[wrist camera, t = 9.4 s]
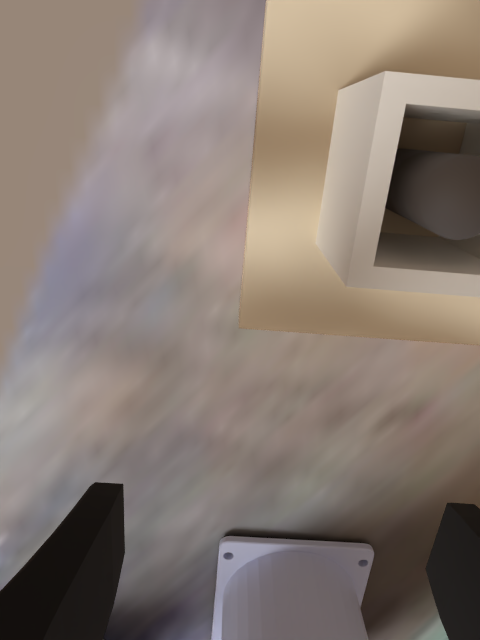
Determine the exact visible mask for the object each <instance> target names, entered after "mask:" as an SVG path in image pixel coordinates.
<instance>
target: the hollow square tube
mask: <svg viewBox="0 0 480 640" xmlns="http://www.w3.org/2000/svg"><path fill="white" fill-rule="evenodd" d="M403 117H407V118H418V119H428V120H439V121H450V122H461V123H467V125H466V129H465V133H464V137H463V141H462V145H461V149H460V153H459V154H464V155H474V156H480V80H474V79H464V78H453V77H443V76H433V75H422V74H412V73H402V72H392V71H384V72H382V73H379V74H377V75H374V76H372V77H369V78H367V79H365V80H362V81H360V82H357V83H355V84H353V85H350V86H348V87H345V88H343V89H340V90H338V96H337V103H336V110H335V116H334V123H333V130H332V136H331V143H330V150H329V157H328V163H327V170H326V177H325V183H324V190H323V197H322V203H321V210H320V217H319V224H318V230H317V237H316V245H317V246H318V248H319V249H320V251H321V252H322V253H323V255H324V256H325V258H326V259H327V260H328V262H329V263H330V265H331V266H332V268H333V269H334V270H335V272H336V273H337V275H338V276H339V277H340V279H341V280H342V282H343V283H344V284H345V286H346V287H355V288H367V289H380V290H393V291H406V292H418V293H431V294H444V295H457V296H469V297H480V234H478V235H476V236H474V237H471V238H467V239H462V240H451V239H447V238H444V237H441V236H438V237H431V236H419V235H407V234H395V233H383V232H380V231H381V226H382V221H383V216H384V211H385V206H386V201H387V196H388V191H389V186H390V181H391V176H392V171H393V166H394V161H395V156H396V151H397V146H398V142H399V137H400V132H401V127H402V122H403Z"/></svg>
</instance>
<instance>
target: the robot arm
mask: <svg viewBox="0 0 480 640" xmlns="http://www.w3.org/2000/svg"><path fill="white" fill-rule="evenodd" d="M227 552H230V553H227ZM124 554H125V542H124V497H123V484H115V483H98V482H95V483H94V484H92V485H91V486H90V487H89V488H88V490H87V491H86V492H85V494H84V495H83V496H82V498H81V499H80V500H79V501H78V503H77V504H76V505H75V507H74V508H73V509H72V510H71V512H70V513H69V514H68V515H67V517H66V518H65V519H64V520H63V521H62V523H61V524H60V525H59V526H58V527H57V529H56V530H55V531H54V532H53V533H52V535H51V536H50V537H49V538H48V539H47V540H46V542H45V543H44V544H43V545H42V546H41V547H40V548H39V550H38V551H37V552H36V553H35V554H34V555H33V556H32V558H31V559H30V560H29V561H28V562H27V563H26V564H25V565H24V567H23V568H22V569H21V570H20V571H19V572H18V573H17V574H16V575H15V576H14V577H13V578H12V579H11V580H10V581H9V583H8V584H7V585H6V586H5V587H4V588H3V589H2V590H1V591H0V640H103V637H104V633H105V630H106V627H107V624H108V621H109V618H110V614H111V611H112V608H113V605H114V601H115V596H116V592H117V587H118V583H119V578H120V573H121V568H122V563H123V559H124ZM373 559H374V551H373V548H372V546H371V545H369V544H365V543H349V542H331V541H313V540H294V539H276V538H258V537H239V536H226V537H224V538H222V539H221V540H220V543H219V555H218V566H217V578H216V589H215V601H214V613H213V624H212V636H211V640H368V636H367V632H366V628H365V624H364V621H363V617H362V613H361V609H360V607H361V604H362V600H363V596H364V592H365V589H366V585H367V581H368V577H369V574H370V570H371V566H372V562H373ZM426 572H427V575H428V579H429V582H430V586H431V589H432V593H433V596H434V599H435V603H436V606H437V609H438V612H439V615H440V619H441V621H442V624H443V626H444V628H445V631H446V633H447V636H448V638H449V640H480V509H479V508H478V507H477V506H475V505H474V504H459V503H447V505H446V508H445V511H444V514H443V518H442V521H441V524H440V527H439V530H438V533H437V536H436V539H435V542H434V545H433V548H432V551H431V554H430V557H429V560H428V563H427V566H426Z"/></svg>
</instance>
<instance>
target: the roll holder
mask: <svg viewBox="0 0 480 640" xmlns="http://www.w3.org/2000/svg"><path fill="white" fill-rule="evenodd" d="M384 71H392V72H402V73H412V74H422V75H433V76H443V77H453V78H464V79H474V80H480V0H266V6H265V18H264V29H263V41H262V52H261V64H260V76H259V87H258V99H257V111H256V122H255V134H254V145H253V157H252V169H251V180H250V192H249V204H248V215H247V227H246V239H245V250H244V262H243V273H242V285H241V297H240V308H239V328H243V329H257V330H271V331H285V332H299V333H313V334H327V335H341V336H355V337H369V338H383V339H397V340H411V341H425V342H439V343H453V344H467V345H480V297H469V296H457V295H444V294H431V293H418V292H406V291H393V290H380V289H367V288H355V287H346V286H345V284H344V283H343V282H342V280H341V279H340V277H339V276H338V275H337V273H336V272H335V270H334V269H333V268H332V266H331V265H330V263H329V262H328V260H327V259H326V258H325V256H324V255H323V253H322V252H321V251H320V249H319V248H318V246H317V245H316V237H317V230H318V224H319V217H320V210H321V203H322V197H323V190H324V183H325V177H326V170H327V163H328V157H329V150H330V143H331V136H332V130H333V123H334V116H335V110H336V103H337V96H338V90H340V89H343V88H345V87H348V86H350V85H353V84H355V83H357V82H360V81H362V80H365V79H367V78H369V77H372V76H374V75H377V74H379V73H382V72H384ZM466 125H467V123H461V122H450V121H439V120H428V119H418V118H407V117H403V122H402V127H401V132H400V137H399V142H398V146H397V151H396V156H395V161H394V166H393V171H392V176H391V181H390V186H389V191H388V196H387V201H386V206H385V211H384V216H383V221H382V226H381V231H380V232H383V233H395V234H407V235H419V236H431V237H438V236H441V237H444V238H447V239H451V240H462V239H467V238H471V237H474V236H476V235H478V234H480V156H474V155H464V154H459V153H460V149H461V145H462V141H463V137H464V133H465V129H466Z"/></svg>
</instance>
